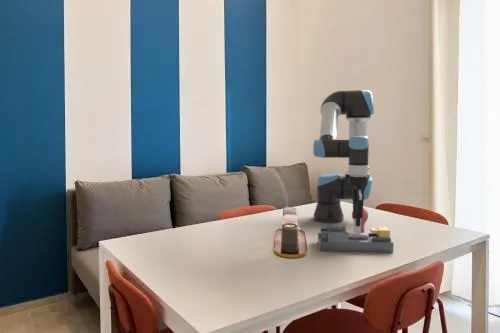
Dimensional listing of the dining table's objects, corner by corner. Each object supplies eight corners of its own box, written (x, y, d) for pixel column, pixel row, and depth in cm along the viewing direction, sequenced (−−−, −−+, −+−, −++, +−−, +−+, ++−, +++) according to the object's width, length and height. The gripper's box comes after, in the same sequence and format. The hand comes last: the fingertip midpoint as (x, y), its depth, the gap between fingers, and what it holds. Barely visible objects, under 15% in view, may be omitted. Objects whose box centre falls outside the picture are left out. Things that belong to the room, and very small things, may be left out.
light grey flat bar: (324, 237, 167) (324, 235, 167) (323, 235, 170) (323, 233, 170) (368, 237, 166) (368, 235, 165) (367, 235, 169) (367, 232, 168)
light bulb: (349, 234, 186) (350, 208, 184) (353, 230, 192) (354, 205, 190) (365, 236, 182) (366, 209, 181) (369, 232, 189) (370, 206, 187)
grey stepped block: (320, 251, 163) (320, 234, 162) (317, 242, 175) (318, 225, 174) (393, 252, 161) (393, 235, 160) (385, 243, 173) (386, 226, 172)
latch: (371, 239, 165) (372, 230, 164) (369, 235, 169) (369, 226, 169) (389, 239, 164) (390, 230, 163) (386, 235, 169) (387, 227, 168)
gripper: (371, 177, 158) (370, 238, 160) (364, 173, 170) (363, 229, 173) (351, 177, 158) (350, 237, 161) (346, 173, 171) (345, 228, 174)
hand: (357, 233), depth 167 cm, fingers closed
